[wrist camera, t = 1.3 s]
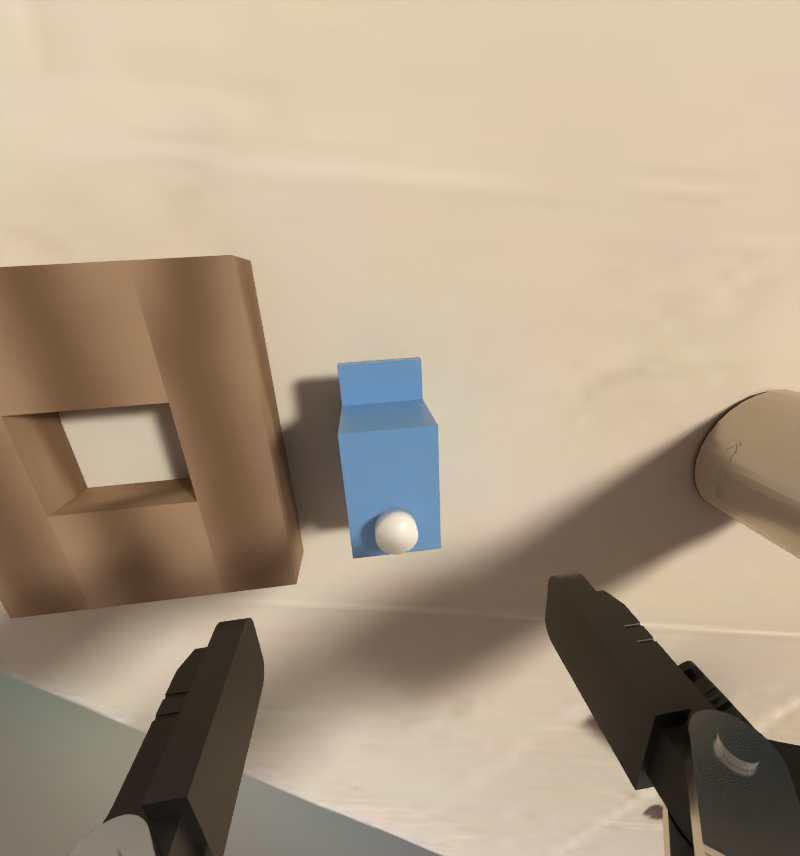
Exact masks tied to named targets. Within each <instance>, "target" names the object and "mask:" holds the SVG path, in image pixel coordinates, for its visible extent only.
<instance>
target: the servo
mask: <svg viewBox="0 0 800 856" xmlns="http://www.w3.org/2000/svg"><path fill="white" fill-rule="evenodd" d="M337 367H338V376H339V384H340V393H341V401H342V410H341V416H340V422H339V428H338V442H339V450H340V458H341V466H342V474H343V482H344V490H345V498H346V506H347V514H348V521H349V529H350V537H351V545H352V553H353V558H362V557H370V556H379V555H388V554H402V553H405V552H414V551H422V550H431V549H440V548H441V536H440V494H439V451H438V425H437V423H436V421H435V420H434V418H433V416H432V415H431V413H430V411H429V409H428V408H427V406H426V404H425V403H424V401H423V399H422V373H421V359H420V358H419V357H415V358H402V359H389V360H376V361H363V362H349V363H338V365H337Z"/></svg>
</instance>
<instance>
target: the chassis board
mask: <svg viewBox="0 0 800 856" xmlns="http://www.w3.org/2000/svg"><path fill="white" fill-rule="evenodd" d="M158 403H169V406H170V409H171V413H172V416H173V420H174V423H175V426H176V430H177V433H178V437H179V440H180V444H181V447H182V451H183V454H184V458H185V461H186V465H187V468H188V471H189V475H190V478H187V479H177V480H166V481H156V482H145V483H135V484H125V485H114V486H104V487H94V488H87V486H86V483H85V481H84V478H83V476H82V473H81V471H80V468H79V466H78V463H77V461H76V459H75V456H74V454H73V451H72V449H71V446H70V444H69V441H68V439H67V436H66V434H65V431H64V429H63V426H62V424H61V421H60V419H59V416H58V414H57V412H59V411H72V410H84V409H96V408H109V407H121V406H133V405H146V404H158ZM302 556H303V546H302V541H301V535H300V530H299V524H298V519H297V513H296V508H295V502H294V497H293V491H292V486H291V480H290V475H289V469H288V464H287V459H286V453H285V448H284V442H283V437H282V431H281V426H280V420H279V415H278V409H277V404H276V398H275V393H274V387H273V382H272V376H271V371H270V365H269V360H268V354H267V349H266V344H265V338H264V333H263V327H262V322H261V316H260V311H259V305H258V300H257V294H256V289H255V283H254V278H253V272H252V267H251V261H249V260H246V259H243V258H239V257H236V256H232V255H223V256H204V257H185V258H166V259H147V260H128V261H109V262H90V263H71V264H52V265H34V266H15V267H0V600H1V602H2V604H3V605H4V607H5V609H6V611H7V612H8V614H9V616H10V618H18V617H27V616H35V615H43V614H52V613H60V612H68V611H77V610H85V609H93V608H102V607H110V606H118V605H127V604H135V603H143V602H152V601H160V600H168V599H177V598H185V597H193V596H202V595H210V594H218V593H227V592H235V591H243V590H252V589H260V588H268V587H277V586H285V585H293V584H296V583H297V579H298V574H299V570H300V565H301V560H302Z"/></svg>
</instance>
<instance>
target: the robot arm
mask: <svg viewBox="0 0 800 856" xmlns="http://www.w3.org/2000/svg"><path fill="white" fill-rule="evenodd" d="M695 482H696V486H697V488H698V491H699V494H700V495H701V496H702V497H703V499H704V500H705V501H706V502H708V503H709V504H711V505H712V506H714V507H715V508H717V509H719V510H720V511H722V512H723V513H725V514H727V515H728V516H730V517H732V518H733V519H735V520H737V521H738V522H740V523H742V524H743V525H745V526H747V527H748V528H750V529H752V530H753V531H755V532H756V533H758V534H760V535H761V536H763V537H764V538H766V539H768V540H769V541H771V542H772V543H774V544H776V545H777V546H779V547H781V548H782V549H784V550H786V551H787V552H789V553H791V554H792V555H794V556H796V557H797V558H799V559H800V393H799V392H794V391H788V390H778V391H769V392H766V393H762V394H759V395H756V396H754V397H752V398H750V399H748V400H746V401H744V402H742V403H741V404H739V405H738V406H736V407H735V408H733V409H732V410H730V411H729V412H728V413H727V414H726V415H725V416H724V417H723V418H722V419H721V420H720V421H719V422H718V423H717V424H716V425H715V426H714V428H713V429H712V430H711V431H710V433H709V434H708V436H707V437H706V439H705V441H704V443H703V444H702V446H701V448H700V451H699V454H698V457H697V460H696V466H695ZM545 622H546V628H547V632H548V635H549V638H550V640H551V642H552V644H553V646H554V648H555V649H556V651H557V653H558V655H559V656H560V658H561V660H562V662H563V663H564V665H565V667H566V669H567V670H568V672H569V674H570V676H571V677H572V679H573V681H574V683H575V685H576V686H577V688H578V690H579V692H580V693H581V695H582V697H583V699H584V700H585V702H586V704H587V706H588V707H589V709H590V711H591V713H592V714H593V716H594V718H595V720H596V722H597V723H598V725H599V727H600V729H601V730H602V732H603V734H604V736H605V737H606V739H607V741H608V743H609V744H610V746H611V748H612V750H613V751H614V753H615V755H616V757H617V759H618V760H619V762H620V764H621V766H622V767H623V769H624V771H625V773H626V774H627V776H628V778H629V780H630V781H631V783H632V785H633V787H634V788H635V790H639V789H644V788H649V787H655V789H656V791H657V792H658V794H659V796H660V797H661V799H662V801H663V802H664V804H663V812H662V813H663V833H664V852H665V856H800V746H798V745H793V744H787V743H782V742H777V741H772V740H768V739H766V738H765V737H764V736H763V735H762V734H761V733H759V732H758V731H757V730H756V729H754V728H753V727H752V726H750V725H749V724H747V723H746V722H744V721H742V720H741V719H739V718H737V717H735V716H732V715H730V714H728V713H725V712H722V711H718V710H717V709H716V708H715V707H714V706H713V705H712V704H711V703H710V702H709V701H708V700H707V699H706V698H705V697H704V695H703V694H702V693H701V692H700V691H699V690H698V688H697V687H696V686H695V685H694V684H693V683H692V682H691V680H690V679H689V678H688V677H687V676H686V675H685V674H684V672H683V671H682V670H681V669H680V668H679V667H678V666H677V664H676V663H675V662H674V661H673V660H672V659H671V658H670V656H669V655H668V654H667V653H666V652H665V651H664V649H663V648H662V647H661V646H660V645H659V644H658V643H657V641H654V640H653V637H652V636H651V635H650V633H649V632H648V631H647V630H646V629H645V628H644V627H643V626H641V625H640V622H639V621H638V620H637V618H636V617H635V616H634V615H633V614H632V613H631V612H630V610H629V609H628V608H627V607H626V606H625V605H624V604H623V603H621V602H620V601H619V600H617V599H616V598H614V597H613V596H611V595H610V594H608V593H607V592H605V591H604V590H602V591H595V590H594V588H593V587H592V586H591V585H590V584H589V582H588V581H587V580H586V579H585V577H584V576H583V575H581V574H580V573H572V574H565V575H558V576H551V577H550V579H549V583H548V594H547V604H546V614H545ZM263 681H264V661H263V656H262V653H261V649H260V645H259V641H258V638H257V634H256V630H255V626H254V623H253V620H252V619H251V618H245V619H238V620H231V621H224V622H220V623H218V624H217V626H216V628H215V630H214V632H213V634H212V637H211V639H210V642H209V644H208V646H207V647H205V648H198V649H195V650H194V651H193V652H192V653H191V654H190V656H189V657H188V658H187V659H186V660H185V661H184V663H183V664H182V665H181V666H180V667H179V668H178V670H177V671H176V673H175V675H174V677H173V680H172V682H171V684H170V686H169V688H168V690H167V692H166V694H165V695H166V697H165V699H164V700H163V701H162V703H161V705H160V707H159V709H158V711H157V713H156V719H155V721H153V722H152V724H151V726H150V728H149V730H148V733H147V735H146V737H145V739H144V741H143V743H142V746H141V747H140V749H139V752H138V754H137V756H136V758H135V760H134V762H133V764H132V767H131V769H130V771H129V773H128V775H127V777H126V779H125V781H124V783H123V785H122V788H121V790H120V792H119V794H118V796H117V798H116V800H115V802H114V805H113V807H112V808H111V810H110V812H109V814H108V816H107V818H106V819H105V821H104V822H103V824H102V825H100V826H99V827H97V828H96V829H94V830H93V831H92V832H91V833H90V834H88V835H87V836H86V837H85V838H84V839H83V840H82V841H81V842H80V843H79V844H78V845H77V846H76V847H75V848H74V849H73V850H72V852H71V853H70V854H69V855H68V856H223V854H224V849H225V845H226V842H227V837H228V833H229V828H230V824H231V820H232V816H233V811H234V807H235V803H236V799H237V794H238V790H239V786H240V782H241V777H242V773H243V769H244V764H245V760H246V756H247V752H248V747H249V743H250V739H251V734H252V730H253V726H254V722H255V717H256V713H257V709H258V705H259V700H260V696H261V692H262V687H263Z"/></svg>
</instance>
